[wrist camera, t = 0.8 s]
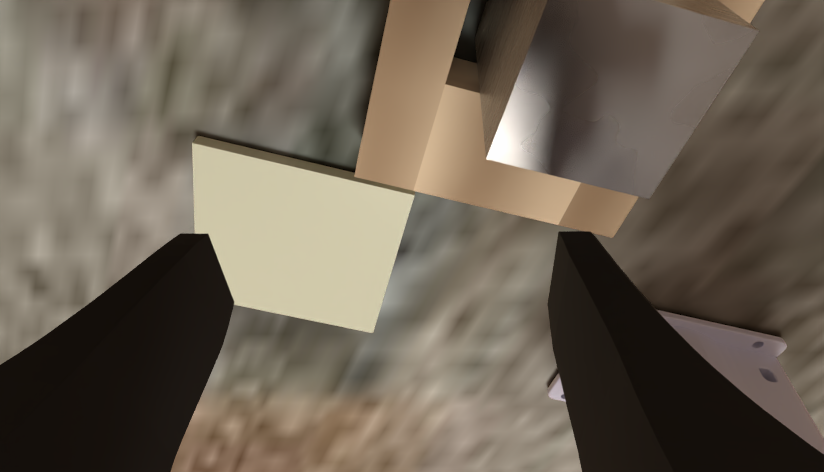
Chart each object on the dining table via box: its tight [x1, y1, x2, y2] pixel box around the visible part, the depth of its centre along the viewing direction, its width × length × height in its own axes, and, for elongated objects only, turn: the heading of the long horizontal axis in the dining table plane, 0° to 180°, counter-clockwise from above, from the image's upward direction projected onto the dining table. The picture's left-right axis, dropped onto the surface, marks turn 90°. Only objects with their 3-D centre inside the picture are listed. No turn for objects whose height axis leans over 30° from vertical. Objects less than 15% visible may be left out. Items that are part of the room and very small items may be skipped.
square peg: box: [475, 0, 759, 199], centre depth 14 cm, size 4×4×8 cm
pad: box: [192, 136, 415, 333], centre depth 24 cm, size 9×9×1 cm
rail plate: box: [354, 0, 765, 238], centre depth 16 cm, size 10×14×2 cm
